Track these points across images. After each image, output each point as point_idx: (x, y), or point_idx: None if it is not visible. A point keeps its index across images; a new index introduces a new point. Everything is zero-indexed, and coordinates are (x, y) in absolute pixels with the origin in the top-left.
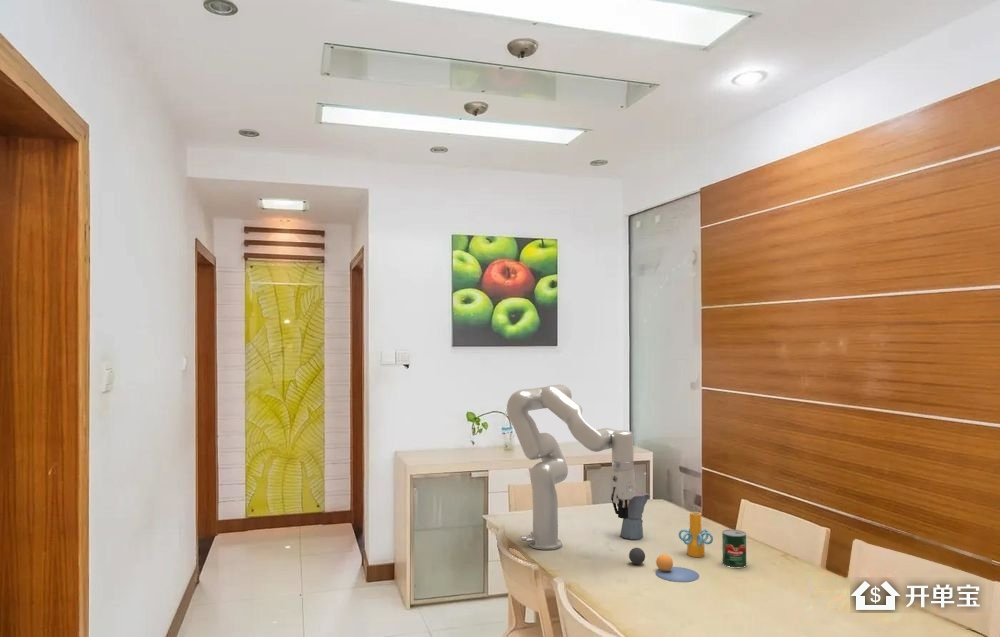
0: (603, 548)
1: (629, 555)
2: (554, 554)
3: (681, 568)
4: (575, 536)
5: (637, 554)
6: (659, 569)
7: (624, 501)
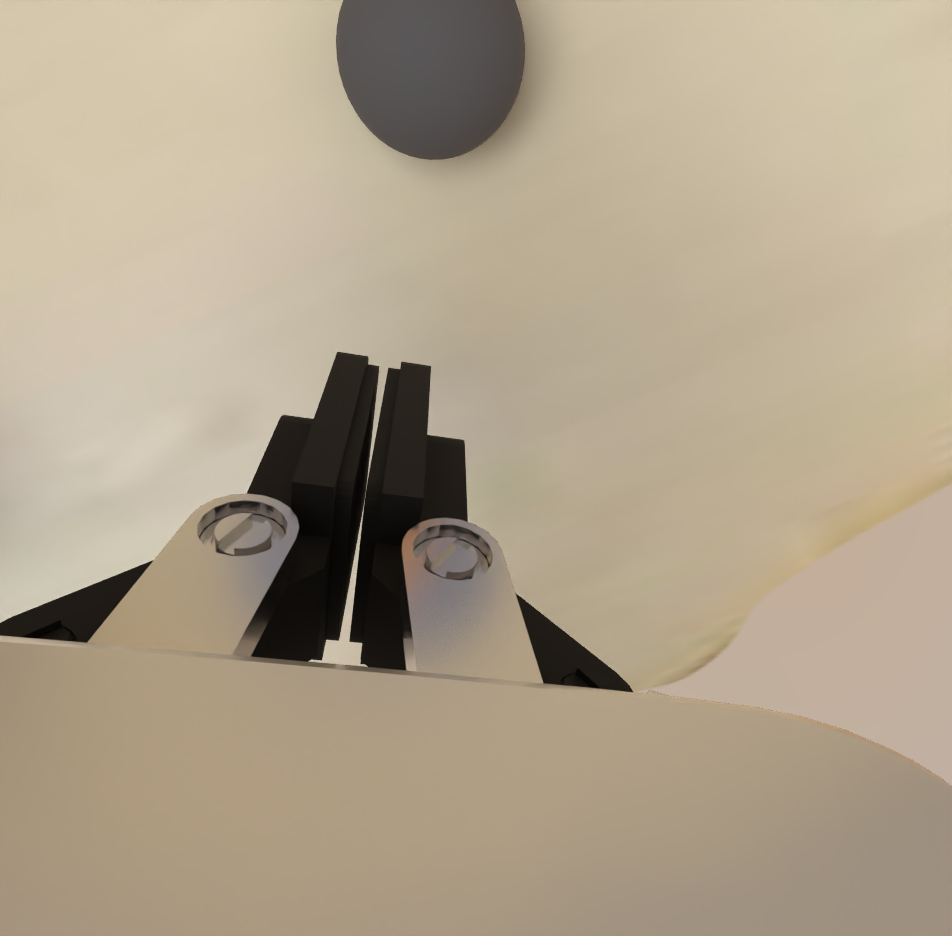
0: (242, 479)
1: (490, 136)
2: None
3: None
4: None
5: (508, 12)
6: None
7: (438, 663)
